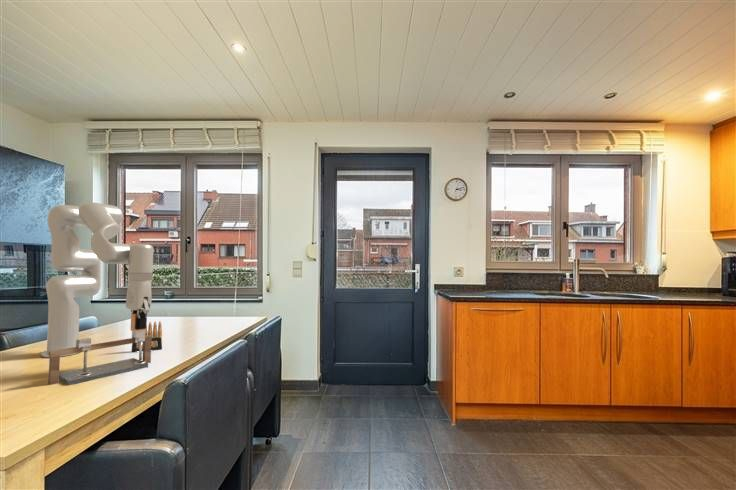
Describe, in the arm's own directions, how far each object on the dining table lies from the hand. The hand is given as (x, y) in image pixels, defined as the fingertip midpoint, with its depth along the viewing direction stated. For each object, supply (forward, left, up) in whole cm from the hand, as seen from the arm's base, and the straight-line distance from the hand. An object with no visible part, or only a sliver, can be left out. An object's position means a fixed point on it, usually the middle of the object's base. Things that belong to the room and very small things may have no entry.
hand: (138, 328), depth 125 cm
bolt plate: (0, -10, -13) cm, 17 cm away
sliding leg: (+1, 0, -11) cm, 11 cm away
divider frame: (0, -10, -13) cm, 17 cm away
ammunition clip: (-19, +11, -14) cm, 26 cm away
